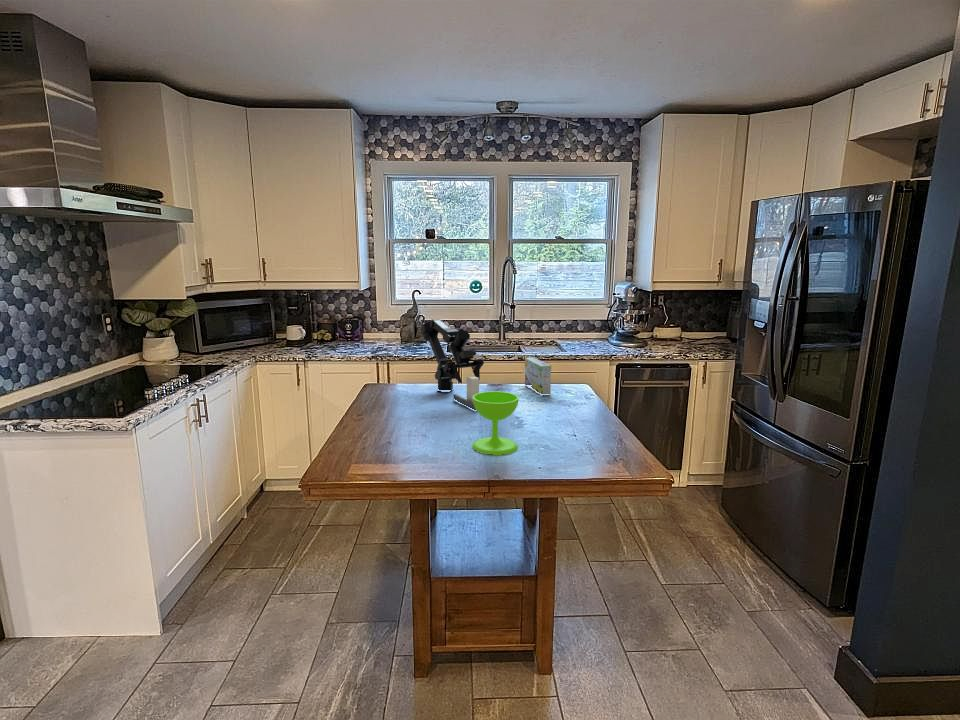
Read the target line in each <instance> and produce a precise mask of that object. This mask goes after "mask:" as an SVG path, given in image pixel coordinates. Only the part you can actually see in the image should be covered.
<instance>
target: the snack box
mask: <svg viewBox="0 0 960 720" xmlns="http://www.w3.org/2000/svg"><path fill="white" fill-rule="evenodd" d="M551 373H552V365H550V364H548V363H546V362H544V361H542V360H540V359H537V358H536V357H535V356H533V357H532V356H531V357H525V358H524V386H525V385H532V386H531V387H532V388H533V389H535V390H536V391H537V392H539V393H541V394H550V395H551V385H552V384H551V383H552V382H551V379H552V374H551Z"/></svg>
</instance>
